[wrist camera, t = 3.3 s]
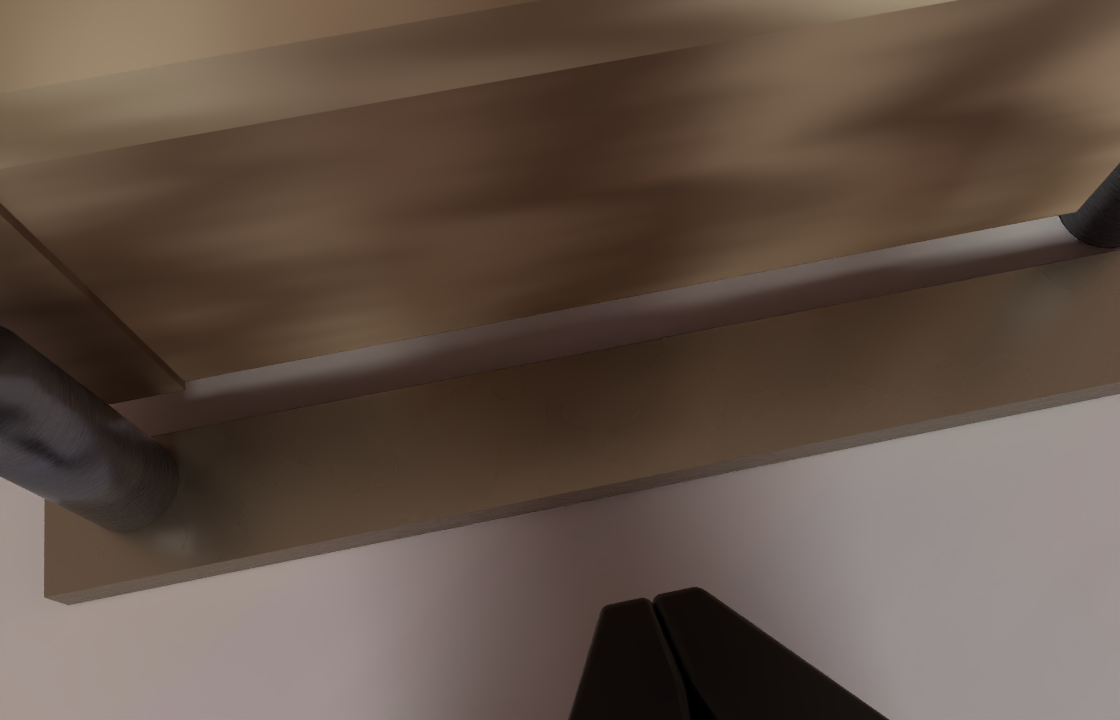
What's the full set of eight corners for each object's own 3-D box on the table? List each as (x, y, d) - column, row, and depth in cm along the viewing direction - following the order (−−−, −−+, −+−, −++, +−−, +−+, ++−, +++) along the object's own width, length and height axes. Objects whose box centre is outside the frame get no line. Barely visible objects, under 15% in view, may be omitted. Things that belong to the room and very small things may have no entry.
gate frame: (1122, 170, 24) (1577, -335, 13) (1223, 372, 22) (1865, -25, 11) (67, 368, 23) (-421, -10, 12) (68, 604, 21) (-525, 417, 10)
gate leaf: (1050, 156, 23) (1355, -244, 14) (1081, 223, 22) (1423, -153, 13) (89, 336, 21) (-266, 26, 12) (90, 412, 21) (-284, 142, 12)
